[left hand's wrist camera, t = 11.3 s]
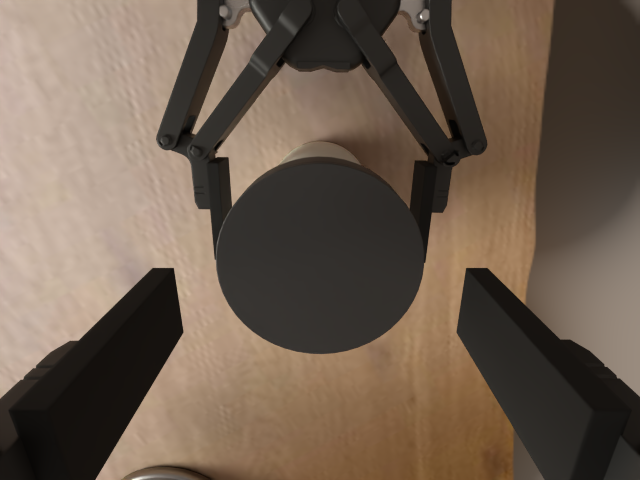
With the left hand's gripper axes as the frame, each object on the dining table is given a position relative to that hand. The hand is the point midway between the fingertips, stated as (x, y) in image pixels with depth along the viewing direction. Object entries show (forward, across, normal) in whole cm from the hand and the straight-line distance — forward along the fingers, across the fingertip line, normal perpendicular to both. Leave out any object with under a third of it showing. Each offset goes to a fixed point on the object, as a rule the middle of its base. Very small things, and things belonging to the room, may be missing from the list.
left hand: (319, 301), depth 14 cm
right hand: (+12, 0, -3) cm, 13 cm away
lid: (+3, 0, 0) cm, 3 cm away
